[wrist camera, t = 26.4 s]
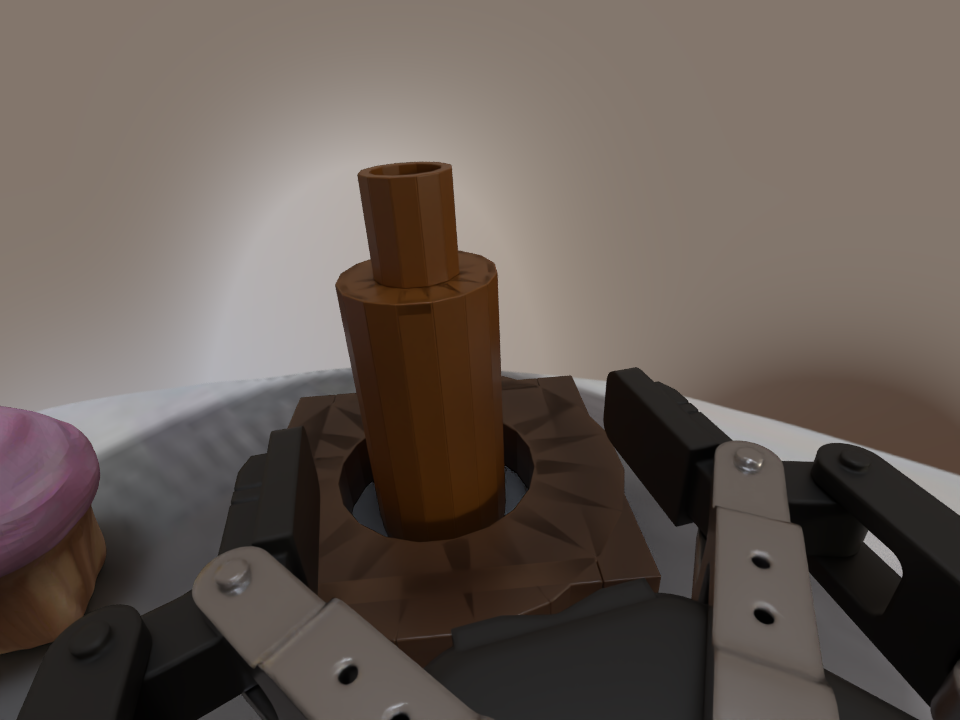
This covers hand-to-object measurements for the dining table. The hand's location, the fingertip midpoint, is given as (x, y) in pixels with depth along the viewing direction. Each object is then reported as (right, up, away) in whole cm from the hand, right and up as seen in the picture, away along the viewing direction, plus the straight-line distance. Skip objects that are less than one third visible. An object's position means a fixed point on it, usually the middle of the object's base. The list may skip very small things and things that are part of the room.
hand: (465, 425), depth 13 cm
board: (-2, -6, +14) cm, 15 cm away
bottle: (-2, -6, +14) cm, 15 cm away
